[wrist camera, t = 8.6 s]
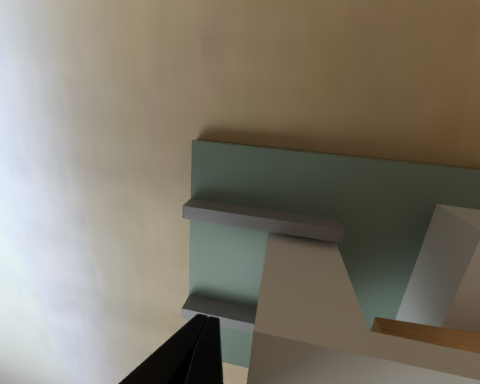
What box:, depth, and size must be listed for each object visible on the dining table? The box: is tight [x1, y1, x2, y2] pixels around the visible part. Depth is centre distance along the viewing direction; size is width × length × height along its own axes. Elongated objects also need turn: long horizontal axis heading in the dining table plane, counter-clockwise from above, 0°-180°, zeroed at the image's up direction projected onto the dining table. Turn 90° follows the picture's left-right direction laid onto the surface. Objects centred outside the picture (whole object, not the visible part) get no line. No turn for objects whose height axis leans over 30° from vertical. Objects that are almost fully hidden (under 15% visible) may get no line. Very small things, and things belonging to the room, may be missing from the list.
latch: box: [247, 233, 480, 384], centre depth 9 cm, size 4×6×6 cm
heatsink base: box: [182, 139, 480, 368], centre depth 9 cm, size 13×25×5 cm, turn 86°
